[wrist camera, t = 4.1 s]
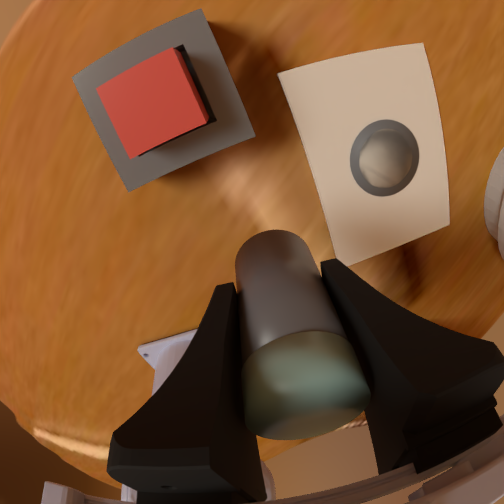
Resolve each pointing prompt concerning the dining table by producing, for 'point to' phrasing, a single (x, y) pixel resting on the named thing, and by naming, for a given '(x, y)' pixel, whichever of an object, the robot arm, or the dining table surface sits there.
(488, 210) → the flag stand
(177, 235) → the dining table surface
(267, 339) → the cylinder
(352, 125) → the sheet
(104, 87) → the button
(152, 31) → the button housing
